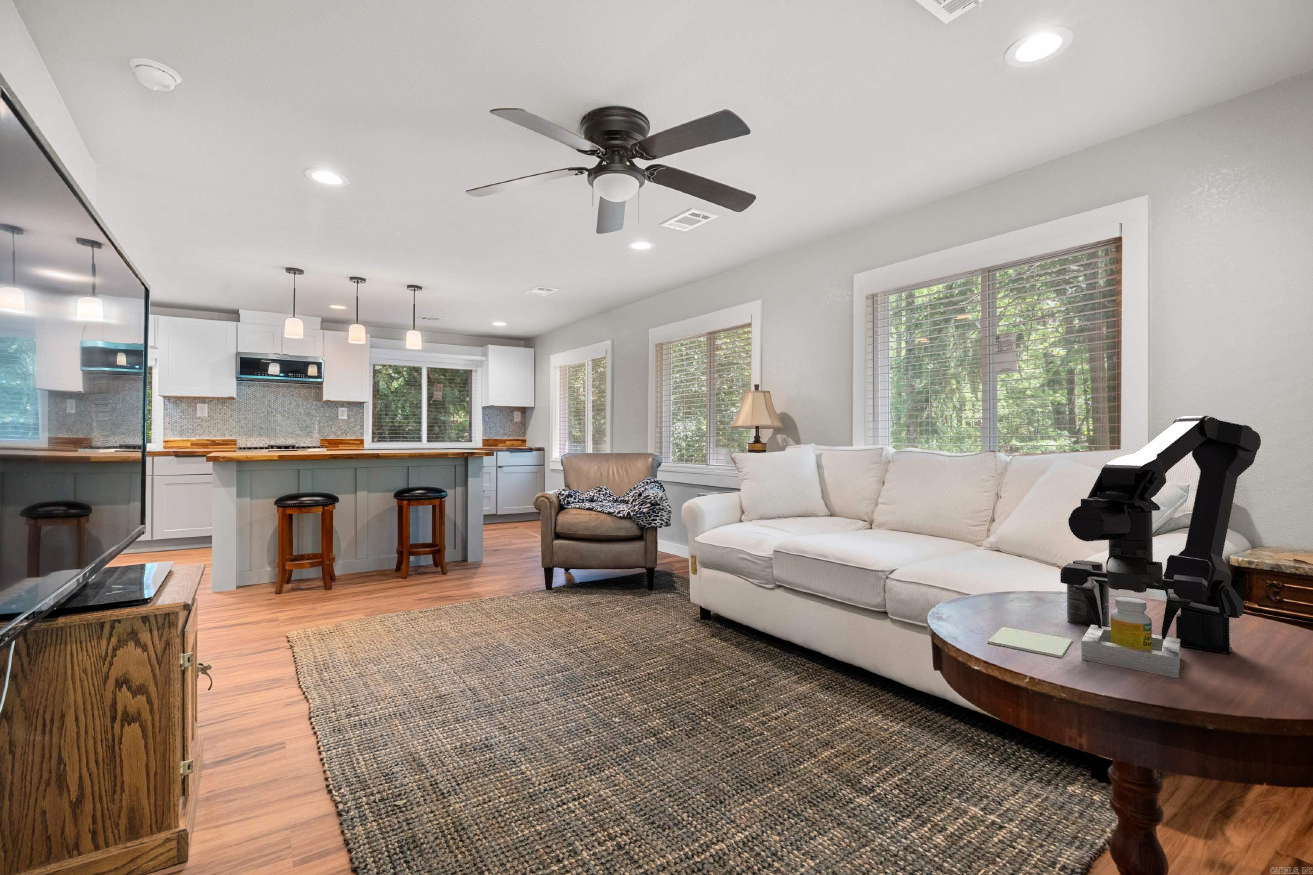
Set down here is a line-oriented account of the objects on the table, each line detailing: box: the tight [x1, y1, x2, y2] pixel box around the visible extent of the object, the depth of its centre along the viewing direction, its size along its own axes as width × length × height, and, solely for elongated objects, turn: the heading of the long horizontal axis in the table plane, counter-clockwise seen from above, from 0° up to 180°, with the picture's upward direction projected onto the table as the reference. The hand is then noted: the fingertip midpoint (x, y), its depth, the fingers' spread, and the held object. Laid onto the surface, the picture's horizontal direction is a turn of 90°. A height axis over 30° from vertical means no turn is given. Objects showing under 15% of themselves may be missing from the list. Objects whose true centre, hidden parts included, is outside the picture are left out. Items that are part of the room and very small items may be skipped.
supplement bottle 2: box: [1110, 596, 1153, 650], centre depth 99 cm, size 5×5×10 cm
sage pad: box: [987, 626, 1073, 659], centre depth 107 cm, size 11×11×1 cm
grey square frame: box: [1080, 625, 1181, 679], centre depth 99 cm, size 12×12×3 cm
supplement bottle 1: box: [1066, 559, 1110, 628], centre depth 119 cm, size 7×7×12 cm
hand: (1131, 633), depth 99 cm, fingers open, 8 cm apart
